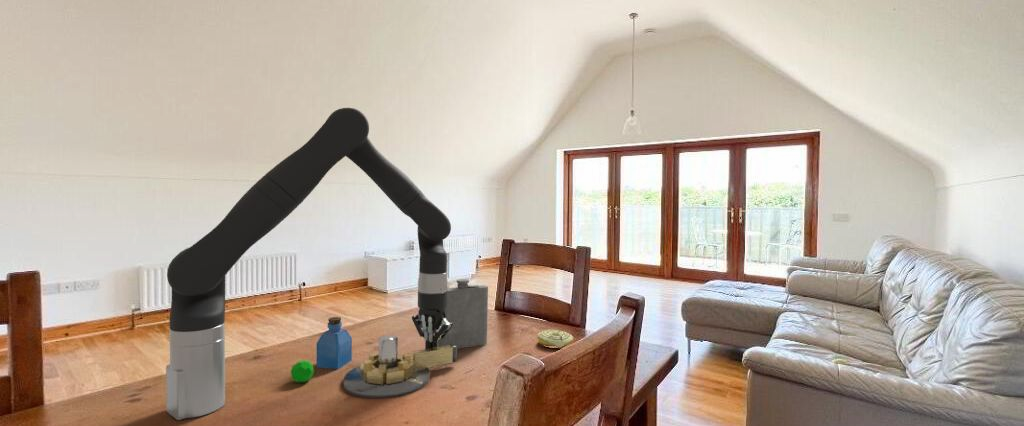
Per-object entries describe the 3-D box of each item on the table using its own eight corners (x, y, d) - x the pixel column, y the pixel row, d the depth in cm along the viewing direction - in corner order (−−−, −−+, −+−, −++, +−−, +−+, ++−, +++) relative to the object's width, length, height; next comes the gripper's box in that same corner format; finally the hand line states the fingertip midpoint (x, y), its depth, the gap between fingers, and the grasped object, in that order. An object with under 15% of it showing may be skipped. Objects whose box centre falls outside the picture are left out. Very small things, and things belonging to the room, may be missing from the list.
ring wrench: (368, 388, 99) (368, 370, 99) (356, 369, 109) (356, 353, 109) (466, 368, 112) (466, 352, 112) (447, 353, 122) (447, 338, 122)
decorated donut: (563, 354, 128) (563, 341, 128) (531, 346, 134) (531, 334, 134) (578, 344, 137) (578, 332, 137) (547, 337, 143) (547, 325, 143)
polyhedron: (307, 375, 109) (308, 356, 109) (317, 381, 106) (317, 361, 106) (286, 381, 105) (287, 361, 105) (296, 387, 102) (296, 367, 102)
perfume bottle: (338, 369, 113) (338, 322, 113) (316, 366, 115) (316, 320, 114) (351, 360, 119) (351, 316, 119) (330, 358, 121) (331, 314, 120)
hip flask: (439, 352, 127) (440, 283, 126) (434, 348, 130) (435, 280, 129) (488, 344, 135) (490, 278, 134) (482, 340, 138) (483, 276, 137)
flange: (380, 407, 94) (381, 359, 93) (326, 382, 105) (326, 339, 105) (446, 376, 110) (447, 336, 110) (393, 358, 122) (393, 321, 121)
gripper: (404, 287, 116) (402, 352, 117) (441, 295, 109) (439, 365, 110) (424, 283, 123) (423, 345, 123) (461, 290, 115) (459, 356, 116)
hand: (431, 354), depth 117 cm, fingers closed
